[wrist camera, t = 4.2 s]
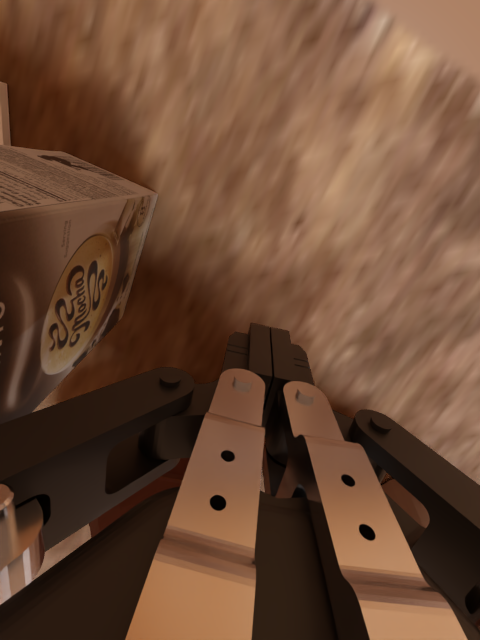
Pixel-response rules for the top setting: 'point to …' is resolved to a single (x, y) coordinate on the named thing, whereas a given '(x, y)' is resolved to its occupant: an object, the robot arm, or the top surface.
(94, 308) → the coffee box
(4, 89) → the mat
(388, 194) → the top surface
